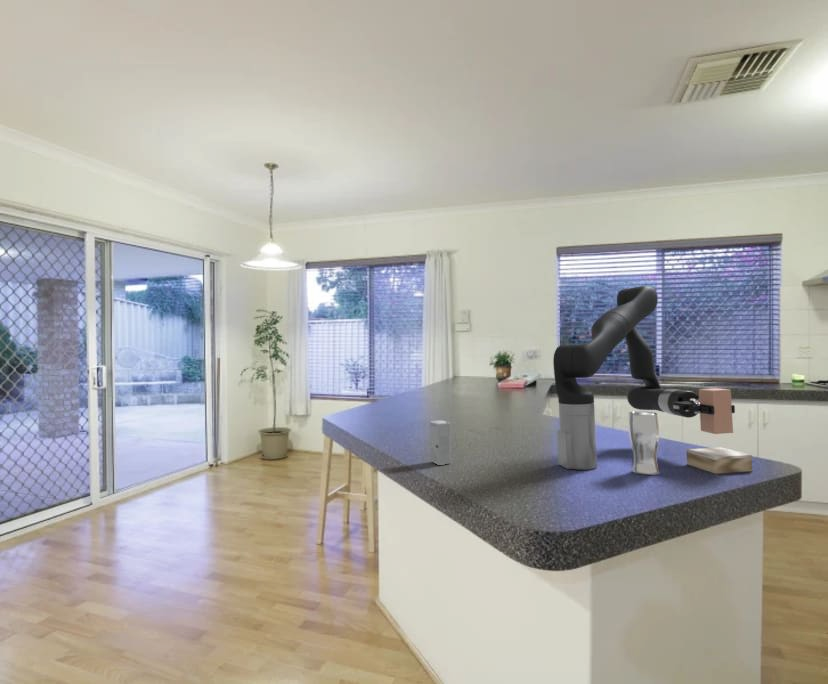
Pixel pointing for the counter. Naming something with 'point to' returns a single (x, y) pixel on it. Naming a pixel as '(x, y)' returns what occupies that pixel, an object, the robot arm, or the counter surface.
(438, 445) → the skincare box
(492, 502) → the counter surface
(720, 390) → the pillar
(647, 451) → the beer glass
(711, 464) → the base slab
